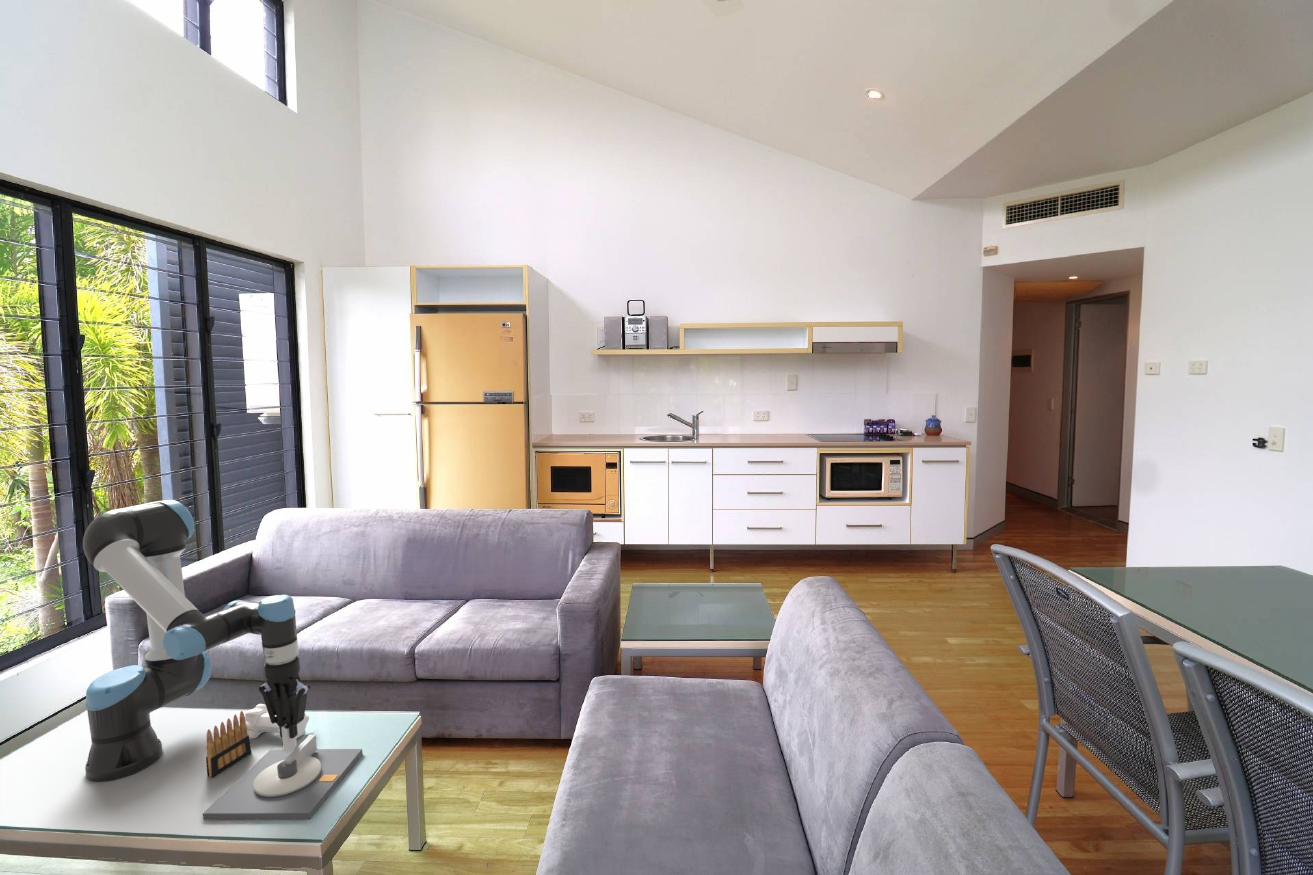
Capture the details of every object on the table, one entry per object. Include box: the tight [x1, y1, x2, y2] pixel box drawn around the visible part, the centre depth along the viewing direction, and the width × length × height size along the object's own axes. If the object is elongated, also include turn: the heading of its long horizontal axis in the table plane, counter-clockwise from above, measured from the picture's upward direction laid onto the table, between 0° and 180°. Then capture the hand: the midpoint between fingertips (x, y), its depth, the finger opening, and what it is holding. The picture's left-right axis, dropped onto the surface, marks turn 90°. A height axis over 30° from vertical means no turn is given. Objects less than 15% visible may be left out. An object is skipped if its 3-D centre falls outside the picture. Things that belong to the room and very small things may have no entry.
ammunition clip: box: [205, 710, 252, 779], centre depth 162 cm, size 11×2×12 cm, turn 163°
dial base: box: [202, 748, 363, 821], centre depth 154 cm, size 24×24×2 cm
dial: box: [253, 734, 321, 797], centre depth 156 cm, size 18×14×4 cm
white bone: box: [244, 703, 310, 740], centre depth 175 cm, size 15×9×8 cm, turn 79°
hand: (290, 748), depth 162 cm, fingers closed
